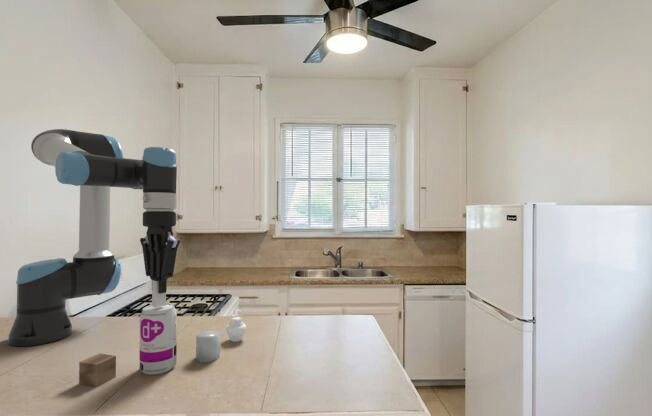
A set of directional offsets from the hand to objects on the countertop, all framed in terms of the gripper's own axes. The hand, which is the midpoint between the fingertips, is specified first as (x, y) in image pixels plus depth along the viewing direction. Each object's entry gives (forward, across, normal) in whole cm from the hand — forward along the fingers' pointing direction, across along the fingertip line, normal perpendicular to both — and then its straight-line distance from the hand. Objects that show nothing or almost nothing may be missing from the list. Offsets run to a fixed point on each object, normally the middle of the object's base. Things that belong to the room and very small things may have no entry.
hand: (159, 305), depth 87 cm
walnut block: (+15, -6, -11) cm, 20 cm away
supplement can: (+16, 0, 0) cm, 16 cm away
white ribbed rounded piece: (+16, +2, +24) cm, 29 cm away
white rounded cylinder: (+15, +5, +11) cm, 20 cm away
